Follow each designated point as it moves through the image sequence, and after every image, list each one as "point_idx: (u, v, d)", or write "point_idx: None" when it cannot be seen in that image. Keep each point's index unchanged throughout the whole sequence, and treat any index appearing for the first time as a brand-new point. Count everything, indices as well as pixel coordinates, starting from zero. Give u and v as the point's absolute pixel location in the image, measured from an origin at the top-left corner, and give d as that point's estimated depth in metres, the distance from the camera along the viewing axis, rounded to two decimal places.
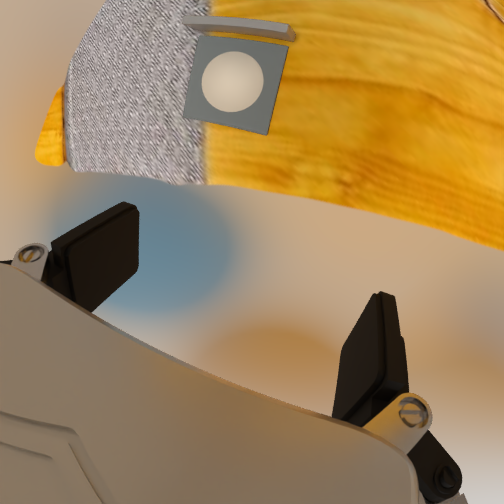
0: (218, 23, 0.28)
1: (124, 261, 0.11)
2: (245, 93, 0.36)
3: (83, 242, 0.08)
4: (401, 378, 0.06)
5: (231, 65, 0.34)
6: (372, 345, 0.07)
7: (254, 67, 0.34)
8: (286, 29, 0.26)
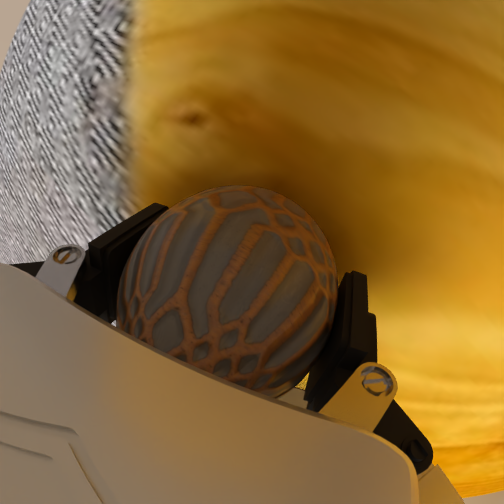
0: None
1: None
2: None
3: (122, 243, 0.08)
4: (365, 347, 0.07)
5: None
6: (340, 318, 0.08)
7: None
8: None
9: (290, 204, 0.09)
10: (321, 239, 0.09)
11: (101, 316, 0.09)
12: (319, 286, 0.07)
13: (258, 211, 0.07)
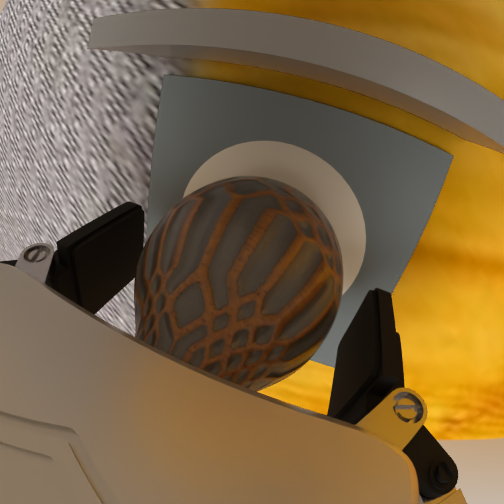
0: (226, 42, 0.06)
1: (129, 261, 0.11)
2: None
3: (89, 242, 0.08)
4: (396, 373, 0.06)
5: None
6: (367, 340, 0.08)
7: (341, 209, 0.12)
8: None
9: (298, 193, 0.09)
10: (327, 225, 0.09)
11: None
12: (326, 265, 0.08)
13: (270, 197, 0.08)
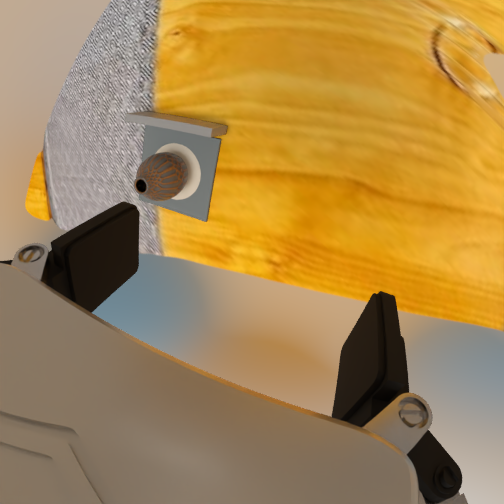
0: (154, 125, 0.36)
1: (124, 261, 0.11)
2: (186, 183, 0.44)
3: (83, 242, 0.08)
4: (401, 378, 0.06)
5: None
6: (372, 345, 0.07)
7: (192, 160, 0.41)
8: (210, 134, 0.34)
9: (173, 154, 0.39)
10: (178, 160, 0.39)
11: None
12: (173, 166, 0.37)
13: (164, 155, 0.38)
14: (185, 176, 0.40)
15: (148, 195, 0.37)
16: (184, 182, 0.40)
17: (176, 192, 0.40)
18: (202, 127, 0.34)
